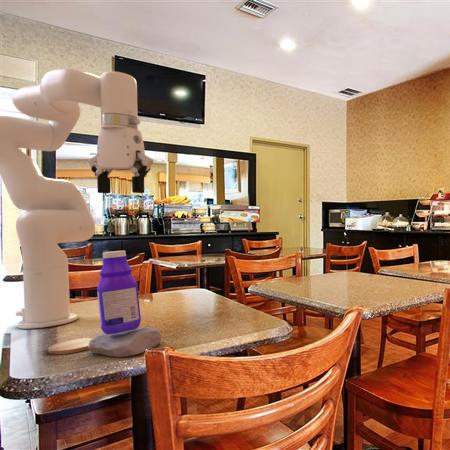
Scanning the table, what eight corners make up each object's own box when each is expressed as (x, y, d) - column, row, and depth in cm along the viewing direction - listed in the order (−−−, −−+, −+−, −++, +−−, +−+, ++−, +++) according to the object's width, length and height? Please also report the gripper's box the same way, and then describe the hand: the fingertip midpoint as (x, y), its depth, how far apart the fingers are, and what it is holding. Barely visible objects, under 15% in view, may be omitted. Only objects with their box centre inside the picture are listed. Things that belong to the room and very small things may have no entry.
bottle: (138, 325, 93) (130, 249, 93) (144, 328, 89) (135, 249, 89) (99, 333, 88) (90, 253, 88) (104, 337, 84) (94, 253, 84)
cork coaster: (36, 353, 87) (36, 350, 87) (75, 340, 96) (75, 337, 96) (73, 354, 86) (73, 351, 86) (109, 341, 95) (109, 338, 95)
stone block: (134, 365, 84) (166, 341, 94) (129, 344, 83) (161, 321, 92) (82, 366, 85) (118, 342, 95) (76, 345, 84) (113, 323, 94)
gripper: (161, 126, 104) (163, 193, 105) (102, 128, 107) (103, 193, 107) (138, 119, 97) (140, 192, 97) (75, 122, 99) (77, 192, 100)
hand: (121, 193), depth 102 cm, fingers open, 9 cm apart
